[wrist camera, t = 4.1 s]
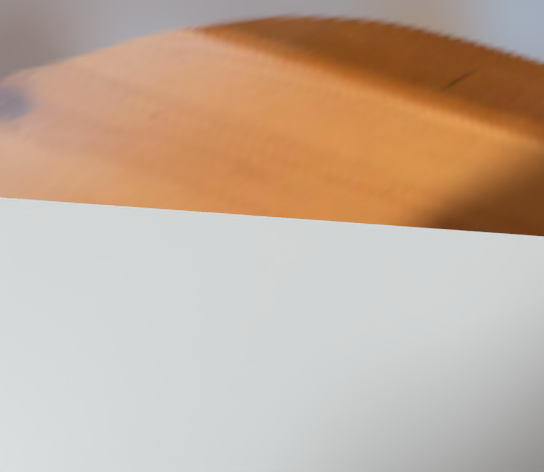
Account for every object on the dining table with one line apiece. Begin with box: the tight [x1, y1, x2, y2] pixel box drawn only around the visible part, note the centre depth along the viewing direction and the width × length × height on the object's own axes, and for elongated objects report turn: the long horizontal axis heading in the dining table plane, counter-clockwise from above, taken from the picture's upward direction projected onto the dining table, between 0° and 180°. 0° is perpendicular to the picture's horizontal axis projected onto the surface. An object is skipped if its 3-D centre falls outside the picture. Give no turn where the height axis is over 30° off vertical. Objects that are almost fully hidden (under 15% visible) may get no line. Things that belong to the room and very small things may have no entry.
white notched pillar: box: [0, 198, 544, 472], centre depth 9 cm, size 6×6×13 cm
